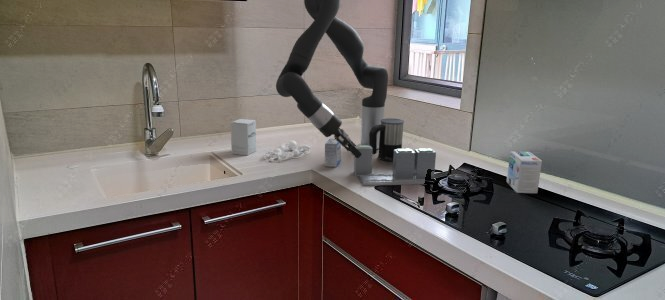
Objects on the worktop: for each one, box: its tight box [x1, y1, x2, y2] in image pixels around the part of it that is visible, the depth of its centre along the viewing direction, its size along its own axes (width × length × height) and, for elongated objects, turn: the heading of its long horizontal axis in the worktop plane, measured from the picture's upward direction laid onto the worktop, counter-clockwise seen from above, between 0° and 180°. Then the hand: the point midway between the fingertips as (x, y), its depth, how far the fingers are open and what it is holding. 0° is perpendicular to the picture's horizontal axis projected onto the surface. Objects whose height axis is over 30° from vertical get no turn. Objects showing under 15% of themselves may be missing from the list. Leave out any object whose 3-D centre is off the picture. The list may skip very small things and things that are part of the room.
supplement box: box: [230, 118, 257, 156], centre depth 186 cm, size 7×7×13 cm
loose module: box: [353, 145, 373, 177], centre depth 163 cm, size 4×6×10 cm, turn 97°
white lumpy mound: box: [263, 140, 311, 163], centre depth 183 cm, size 19×14×4 cm
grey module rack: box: [358, 148, 437, 187], centre depth 157 cm, size 8×24×11 cm, turn 97°
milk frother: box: [369, 117, 405, 162], centre depth 177 cm, size 14×16×15 cm
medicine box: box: [324, 138, 342, 168], centre depth 174 cm, size 8×4×9 cm, turn 168°
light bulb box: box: [506, 150, 543, 194], centre depth 152 cm, size 11×7×11 cm, turn 178°
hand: (357, 152), depth 162 cm, fingers open, 8 cm apart
